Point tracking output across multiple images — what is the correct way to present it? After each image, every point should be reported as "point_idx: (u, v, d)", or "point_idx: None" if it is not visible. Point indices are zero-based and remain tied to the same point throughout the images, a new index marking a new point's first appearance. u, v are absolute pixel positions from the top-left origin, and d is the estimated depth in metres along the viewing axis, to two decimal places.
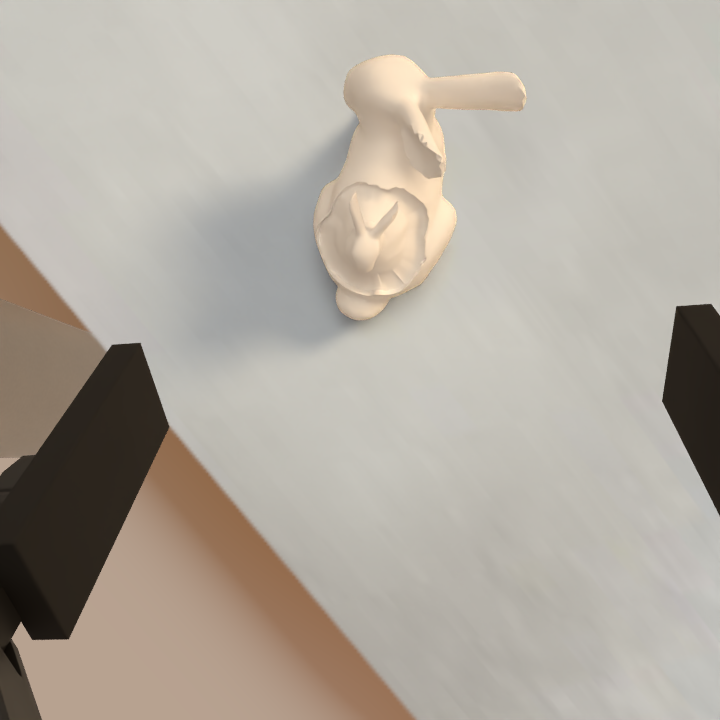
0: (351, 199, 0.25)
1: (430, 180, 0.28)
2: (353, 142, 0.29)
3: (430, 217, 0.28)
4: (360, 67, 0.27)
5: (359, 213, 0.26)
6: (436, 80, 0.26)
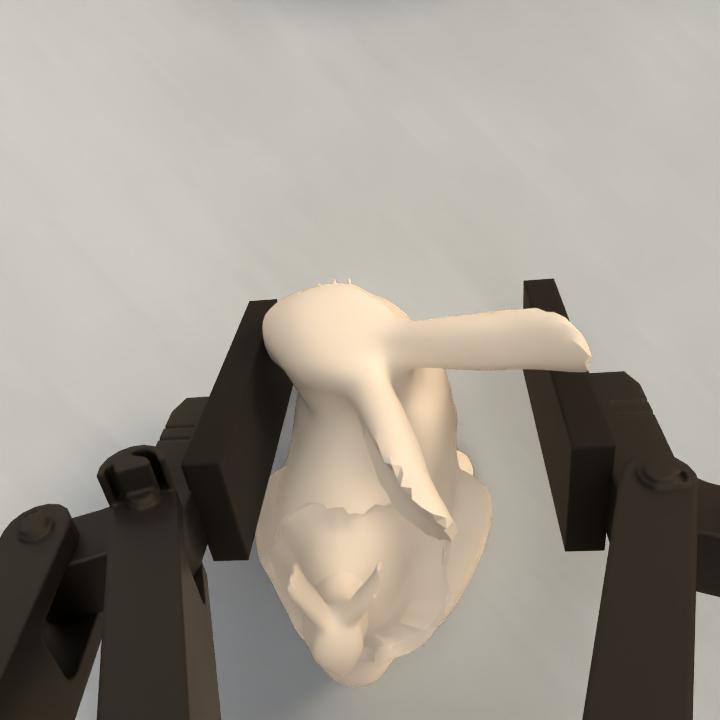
0: (290, 585, 0.13)
1: (435, 470, 0.16)
2: (297, 415, 0.17)
3: None
4: (278, 315, 0.15)
5: (312, 598, 0.14)
6: (412, 329, 0.14)
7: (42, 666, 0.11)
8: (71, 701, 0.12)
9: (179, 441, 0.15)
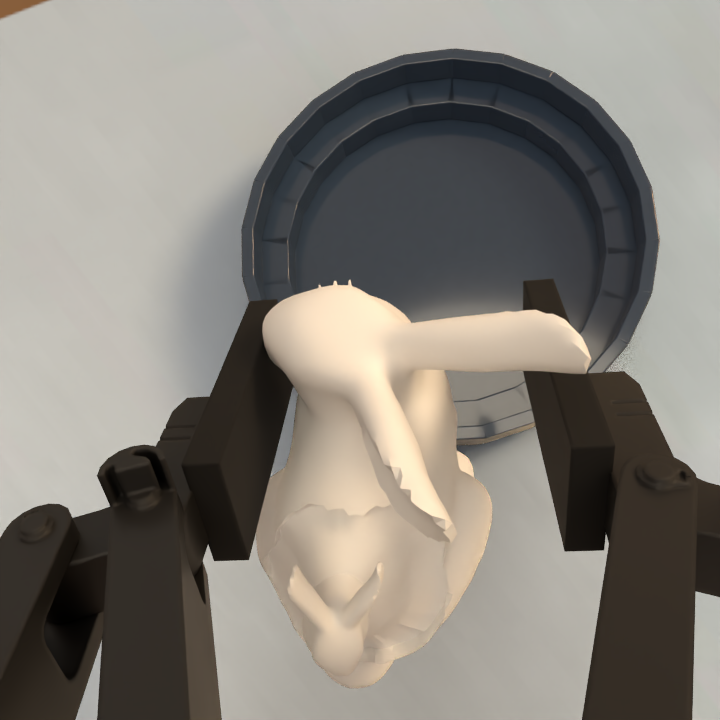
0: (290, 586, 0.13)
1: (435, 471, 0.16)
2: (297, 417, 0.17)
3: None
4: (278, 316, 0.15)
5: (311, 600, 0.14)
6: (411, 330, 0.14)
7: (42, 666, 0.11)
8: (71, 701, 0.12)
9: (180, 441, 0.15)
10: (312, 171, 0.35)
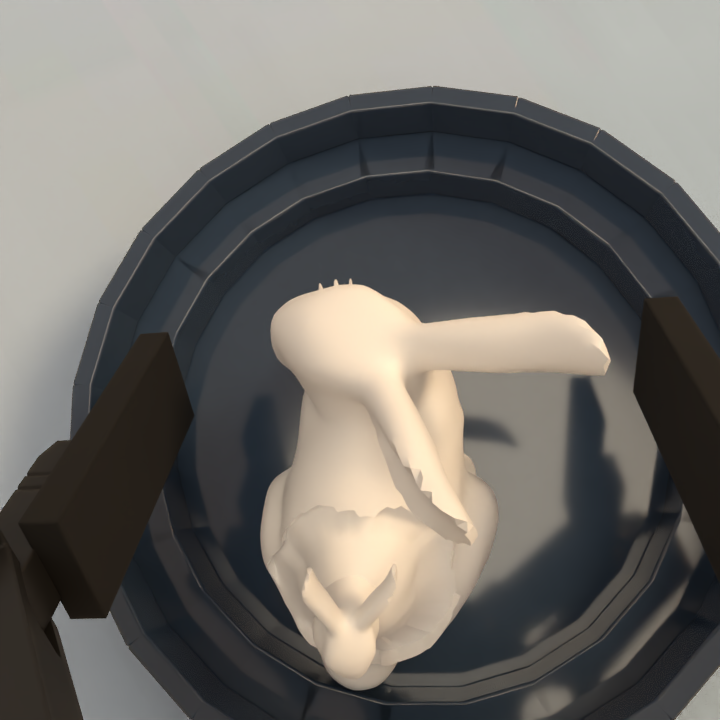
0: (304, 589, 0.13)
1: (444, 472, 0.16)
2: (303, 417, 0.17)
3: None
4: (289, 316, 0.15)
5: (325, 602, 0.14)
6: (426, 331, 0.14)
7: None
8: None
9: (37, 491, 0.14)
10: (203, 280, 0.22)
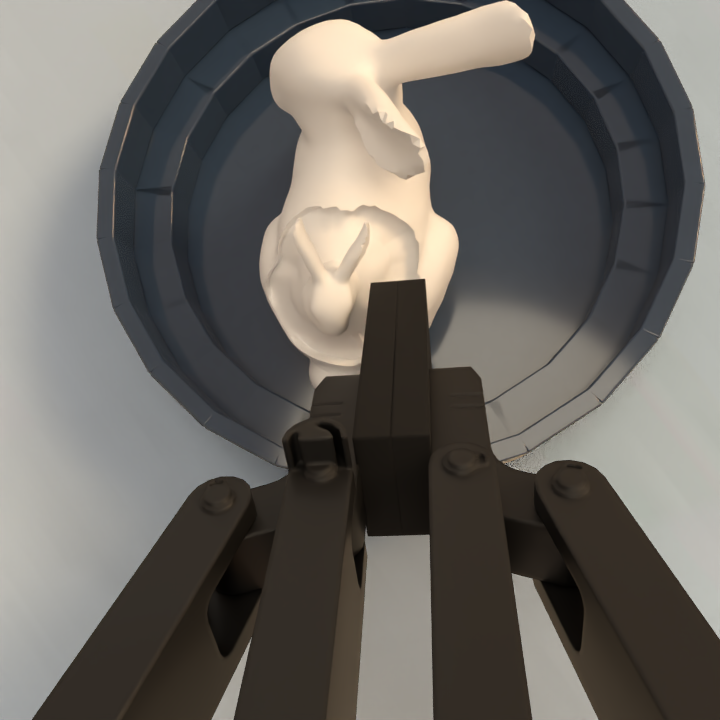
0: (295, 230, 0.17)
1: (412, 189, 0.20)
2: (296, 157, 0.21)
3: (420, 241, 0.20)
4: (285, 46, 0.19)
5: (311, 249, 0.17)
6: (394, 39, 0.17)
7: (201, 641, 0.11)
8: (221, 678, 0.12)
9: (331, 417, 0.15)
10: (210, 95, 0.25)
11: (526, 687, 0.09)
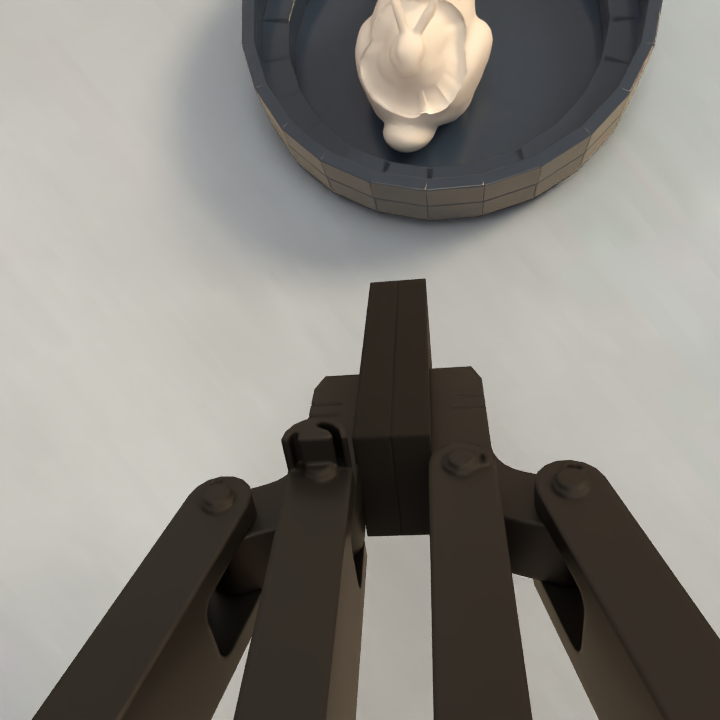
0: None
1: None
2: None
3: (467, 27, 0.30)
4: None
5: (401, 7, 0.27)
6: None
7: (201, 641, 0.11)
8: (221, 678, 0.12)
9: (330, 417, 0.15)
10: None
11: (526, 687, 0.09)
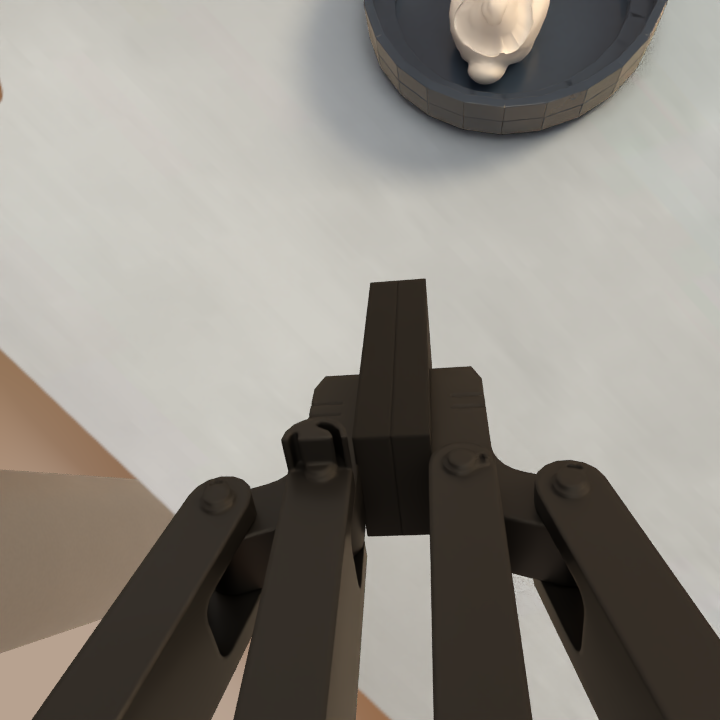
0: None
1: None
2: None
3: None
4: None
5: None
6: None
7: (201, 641, 0.11)
8: (221, 678, 0.12)
9: (330, 417, 0.15)
10: None
11: (526, 687, 0.09)
